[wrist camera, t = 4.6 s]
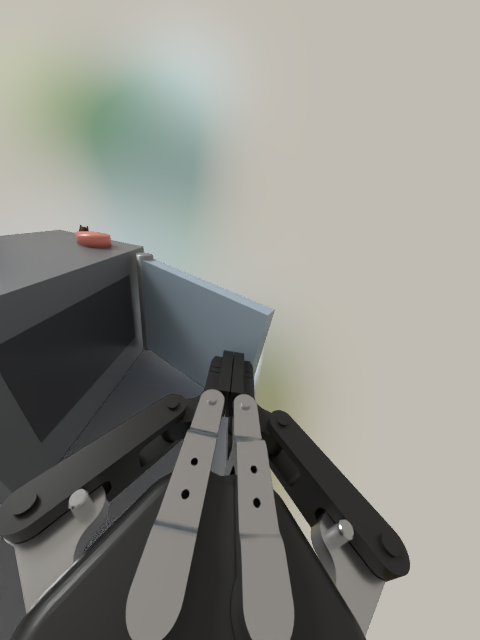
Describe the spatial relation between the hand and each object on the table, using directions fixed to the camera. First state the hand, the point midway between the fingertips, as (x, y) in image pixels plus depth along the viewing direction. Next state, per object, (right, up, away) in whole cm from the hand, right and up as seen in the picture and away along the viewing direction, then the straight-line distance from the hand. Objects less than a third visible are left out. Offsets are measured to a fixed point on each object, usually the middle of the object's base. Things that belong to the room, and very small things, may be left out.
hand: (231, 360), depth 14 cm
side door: (-5, -2, +7) cm, 9 cm away
